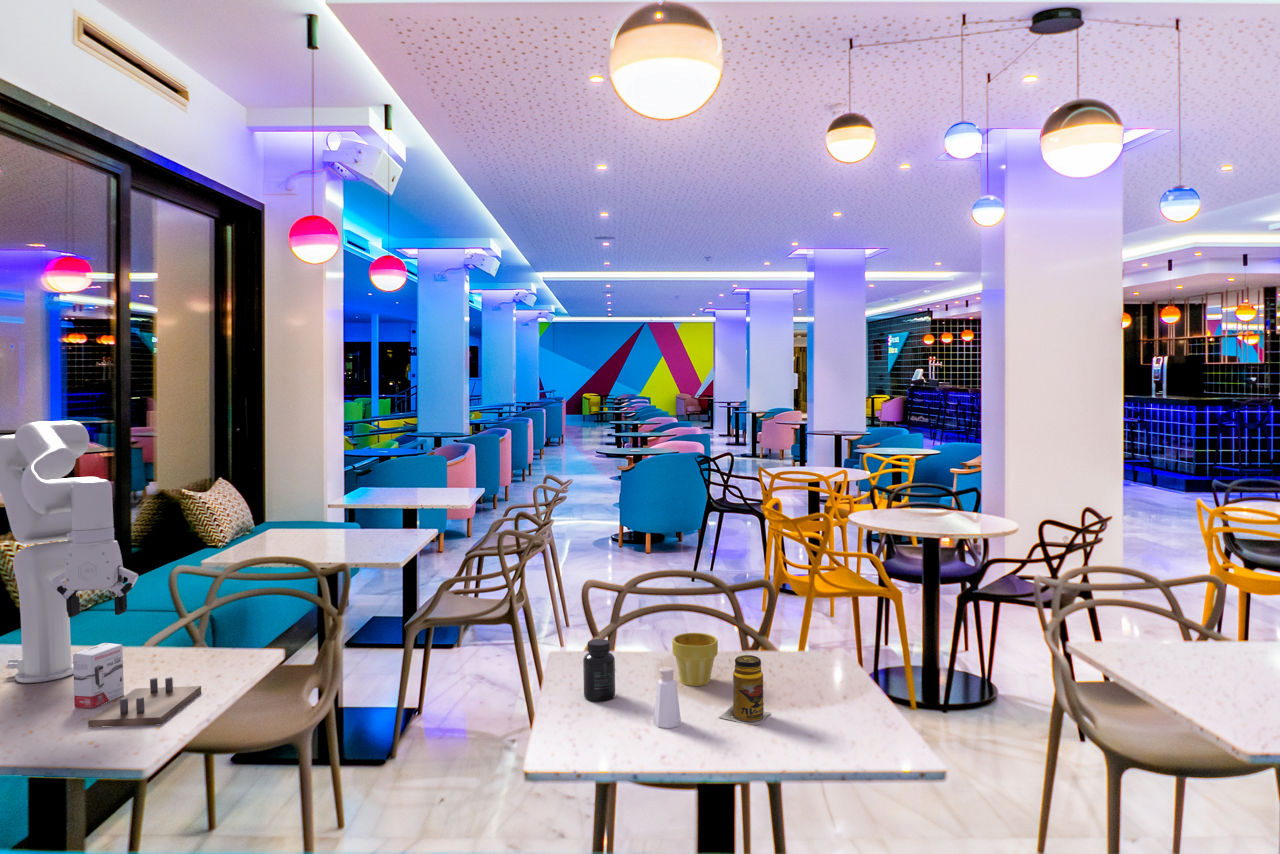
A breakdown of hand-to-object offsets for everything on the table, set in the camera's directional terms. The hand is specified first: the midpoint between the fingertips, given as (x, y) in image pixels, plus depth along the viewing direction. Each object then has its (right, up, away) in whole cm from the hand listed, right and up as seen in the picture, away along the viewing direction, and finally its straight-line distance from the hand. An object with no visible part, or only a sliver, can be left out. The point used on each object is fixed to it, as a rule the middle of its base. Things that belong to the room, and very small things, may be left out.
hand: (97, 614), depth 179 cm
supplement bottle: (+109, -18, 0) cm, 111 cm away
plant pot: (+131, -17, +8) cm, 132 cm away
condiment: (+139, -18, -12) cm, 141 cm away
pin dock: (+13, -19, -4) cm, 24 cm away
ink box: (0, -20, +1) cm, 20 cm away
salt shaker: (+124, -18, -15) cm, 126 cm away
